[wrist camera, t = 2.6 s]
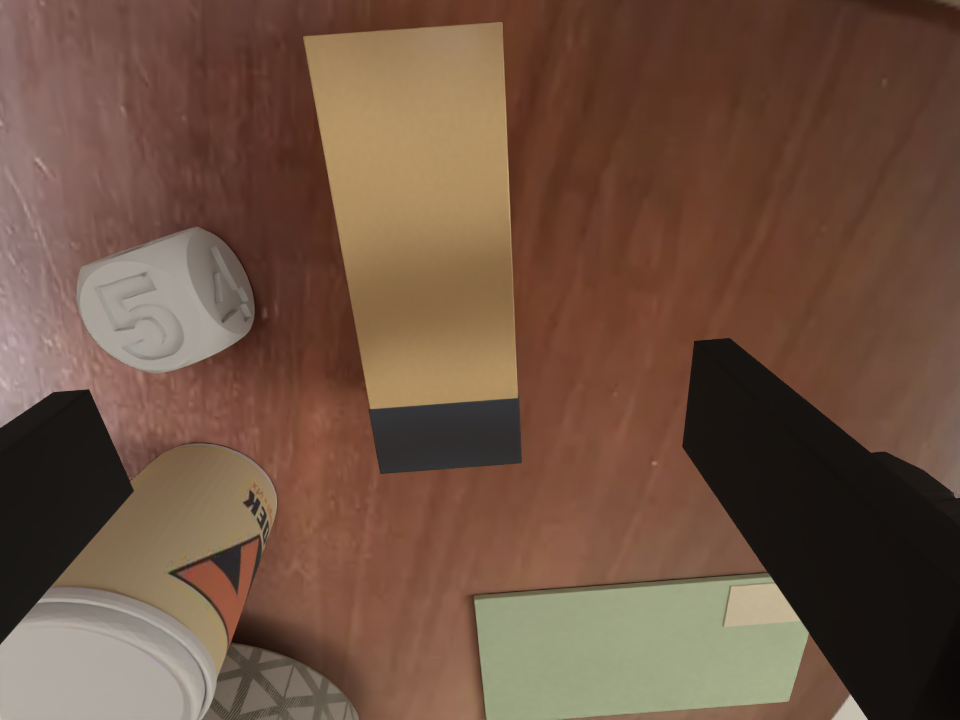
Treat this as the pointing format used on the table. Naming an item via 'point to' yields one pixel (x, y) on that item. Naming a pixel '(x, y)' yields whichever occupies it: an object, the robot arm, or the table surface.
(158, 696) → the coffee cup
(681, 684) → the envelope
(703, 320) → the table surface
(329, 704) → the planter
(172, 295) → the die
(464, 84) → the beech block
